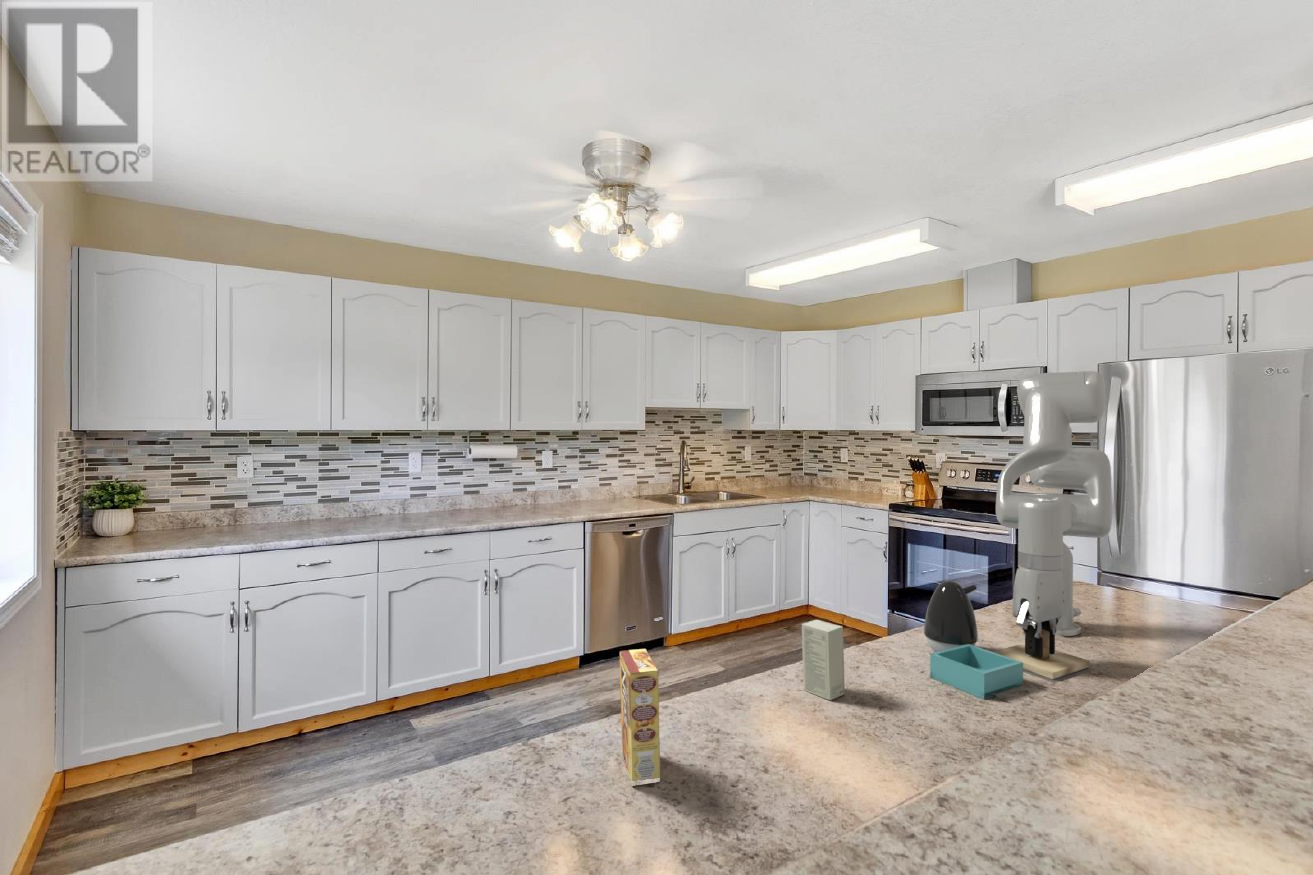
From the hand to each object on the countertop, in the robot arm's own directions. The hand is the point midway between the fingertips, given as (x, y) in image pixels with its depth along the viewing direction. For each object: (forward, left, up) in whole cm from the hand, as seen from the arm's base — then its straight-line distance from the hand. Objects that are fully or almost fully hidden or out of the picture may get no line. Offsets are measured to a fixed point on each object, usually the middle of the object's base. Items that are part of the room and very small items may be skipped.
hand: (1039, 653), depth 124 cm
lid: (0, 0, -2) cm, 2 cm away
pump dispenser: (+9, -13, -3) cm, 16 cm away
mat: (0, 0, -3) cm, 3 cm away
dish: (+18, -1, -3) cm, 19 cm away
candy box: (+86, -4, -3) cm, 86 cm away
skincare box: (+46, -11, -3) cm, 48 cm away
